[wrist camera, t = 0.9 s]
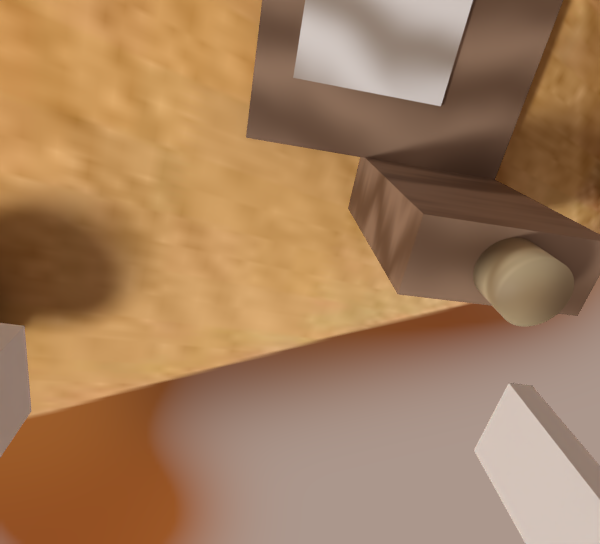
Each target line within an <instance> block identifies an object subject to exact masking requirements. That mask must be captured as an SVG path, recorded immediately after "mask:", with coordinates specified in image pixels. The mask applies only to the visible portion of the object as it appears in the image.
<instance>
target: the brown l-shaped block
mask: <svg viewBox="0 0 600 544" xmlns="http://www.w3.org/2000/svg"><path fill="white" fill-rule="evenodd" d="M562 2H563V0H262V8H261V17H260V25H259V34H258V42H257V50H256V59H255V67H254V76H253V84H252V92H251V101H250V109H249V118H248V126H247V134H246V138H252V139H258V140H264V141H269V142H275V143H281V144H287V145H293V146H299V147H305V148H311V149H317V150H323V151H328V152H334V153H340V154H346V155H352V156H358V157H360V161H359V165H358V169H357V174H356V178H355V182H354V186H353V190H352V195H351V199H350V203H349V207H348V209H349V211H350V212H351V214H352V216H353V218H354V219H355V221H356V223H357V224H358V226H359V228H360V230H361V231H362V233H363V235H364V237H365V238H366V240H367V242H368V243H369V245H370V247H371V249H372V250H373V252H374V254H375V256H376V257H377V259H378V261H379V262H380V264H381V266H382V268H383V269H384V271H385V273H386V275H387V276H388V278H389V280H390V281H391V283H392V285H393V287H394V288H395V290H396V292H397V294H400V295H409V296H417V297H425V298H434V299H442V300H450V301H459V302H467V303H475V304H483V305H492V306H493V307H494V308H495V309H496V310H497V311H498V312H499V313H500V314H501V315H502V317H503V318H504V319H505V320H507V321H508V322H509V323H511V324H514V325H517V326H534V325H538V324H541V323H543V322H545V321H547V320H549V319H551V318H553V317H554V316H555V315H557V314H567V315H575V316H578V314H579V312H580V310H581V308H582V307H583V305H584V303H585V301H586V299H587V297H588V295H589V294H590V292H591V290H592V288H593V286H594V285H595V283H596V281H597V279H598V277H599V275H600V234H598V233H596V232H594V231H592V230H590V229H588V228H586V227H584V226H582V225H581V224H579V223H577V222H575V221H573V220H571V219H569V218H567V217H565V216H563V215H561V214H559V213H558V212H556V211H554V210H552V209H550V208H548V207H546V206H544V205H542V204H540V203H538V202H536V201H535V200H533V199H531V198H529V197H527V196H525V195H523V194H521V193H519V192H517V191H515V190H513V189H512V188H510V187H508V186H506V185H504V184H502V183H500V182H498V181H496V180H495V178H496V175H497V172H498V170H499V167H500V165H501V162H502V159H503V157H504V154H505V151H506V149H507V146H508V144H509V141H510V138H511V136H512V133H513V130H514V128H515V125H516V123H517V120H518V117H519V115H520V112H521V110H522V107H523V104H524V102H525V99H526V96H527V94H528V91H529V89H530V86H531V83H532V81H533V78H534V76H535V73H536V70H537V68H538V65H539V62H540V60H541V57H542V55H543V52H544V49H545V47H546V44H547V41H548V39H549V36H550V34H551V31H552V28H553V26H554V23H555V21H556V18H557V15H558V13H559V10H560V7H561V5H562Z"/></svg>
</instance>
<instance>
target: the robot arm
mask: <svg viewBox="0 0 600 544" xmlns="http://www.w3.org/2000/svg"><path fill="white" fill-rule="evenodd" d="M30 412H31V401H30V389H29V376H28V364H27V351H26V339H25V326H22V325H14V324H5V323H0V457H1V455H2V454H3V452H4V451H5V449H6V448H7V446H8V445H9V444H10V442H11V441H12V439H13V437H14V436H15V435H16V433H17V432H18V430H19V429H20V427H21V426H22V424H23V423H24V421H25V420H26V418H27V417H28V415H29V414H30ZM474 451H475V453H476V455H477V457H478V458H479V460H480V462H481V464H482V466H483V468H484V470H485V471H486V473H487V475H488V477H489V478H490V480H491V482H492V484H493V486H494V488H495V489H496V491H497V493H498V495H499V497H500V498H501V500H502V502H503V504H504V506H505V508H506V509H507V511H508V513H509V515H510V517H511V518H512V520H513V522H514V524H515V526H516V527H517V529H518V531H519V533H520V535H521V537H522V538H523V540H524V542H525V544H600V466H599V464H598V463H597V462H596V461H595V460H594V458H593V457H592V456H591V455H590V454H589V452H588V451H587V450H586V449H585V448H584V446H583V445H582V444H581V443H580V442H579V441H578V439H577V438H576V437H575V436H574V435H573V434H572V432H571V431H570V430H569V429H568V428H567V426H566V425H565V424H564V423H563V422H562V421H561V419H560V418H559V417H558V416H557V415H556V413H555V412H554V411H553V410H552V409H551V407H550V406H549V405H548V404H547V403H546V402H545V400H544V399H543V398H542V397H541V396H540V394H539V393H538V392H537V391H536V390H535V388H534V387H533V386H530V385H522V384H514V383H509V384H508V386H507V387H506V390H505V391H504V393H503V395H502V397H501V399H500V401H499V403H498V405H497V407H496V409H495V411H494V413H493V415H492V416H491V418H490V420H489V422H488V424H487V426H486V428H485V430H484V432H483V434H482V436H481V438H480V440H479V442H478V444H477V445H476V447H475V449H474Z"/></svg>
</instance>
